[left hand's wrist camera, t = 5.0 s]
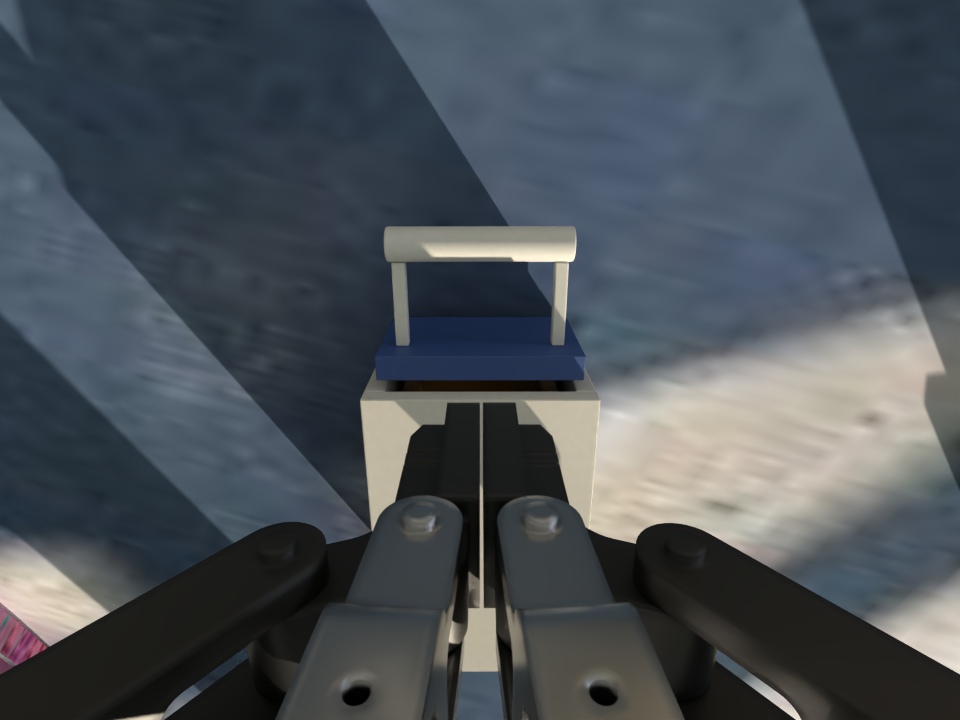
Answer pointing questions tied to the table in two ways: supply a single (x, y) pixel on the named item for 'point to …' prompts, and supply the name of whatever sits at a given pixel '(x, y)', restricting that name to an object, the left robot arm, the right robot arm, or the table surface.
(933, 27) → the table surface
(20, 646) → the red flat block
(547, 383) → the drawer
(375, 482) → the cabinet
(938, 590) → the table surface
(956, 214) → the table surface
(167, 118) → the table surface
